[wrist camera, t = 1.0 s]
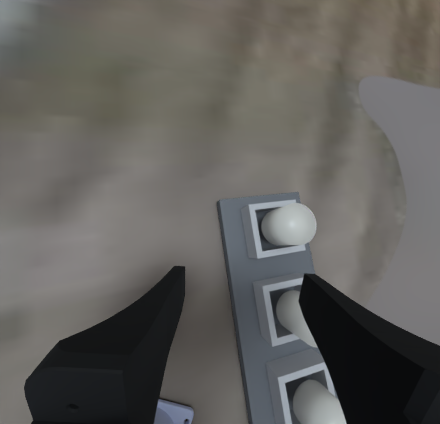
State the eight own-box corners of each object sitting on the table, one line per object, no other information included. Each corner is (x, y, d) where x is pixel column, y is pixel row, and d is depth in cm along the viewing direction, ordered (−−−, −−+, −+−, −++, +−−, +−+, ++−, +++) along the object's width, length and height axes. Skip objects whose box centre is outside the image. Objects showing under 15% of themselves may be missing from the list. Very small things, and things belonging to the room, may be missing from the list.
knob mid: (304, 335, 19) (332, 353, 16) (271, 323, 19) (292, 340, 16) (313, 296, 20) (341, 306, 17) (282, 285, 20) (304, 292, 16)
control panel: (332, 400, 23) (364, 430, 19) (250, 432, 21) (267, 474, 17) (291, 195, 26) (311, 186, 23) (216, 202, 24) (224, 194, 20)
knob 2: (323, 429, 18) (356, 470, 15) (288, 420, 18) (314, 460, 14) (331, 385, 19) (364, 414, 16) (298, 374, 19) (325, 403, 15)
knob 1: (288, 250, 21) (310, 251, 17) (256, 237, 20) (273, 235, 17) (297, 217, 21) (320, 212, 18) (267, 204, 21) (285, 196, 18)
